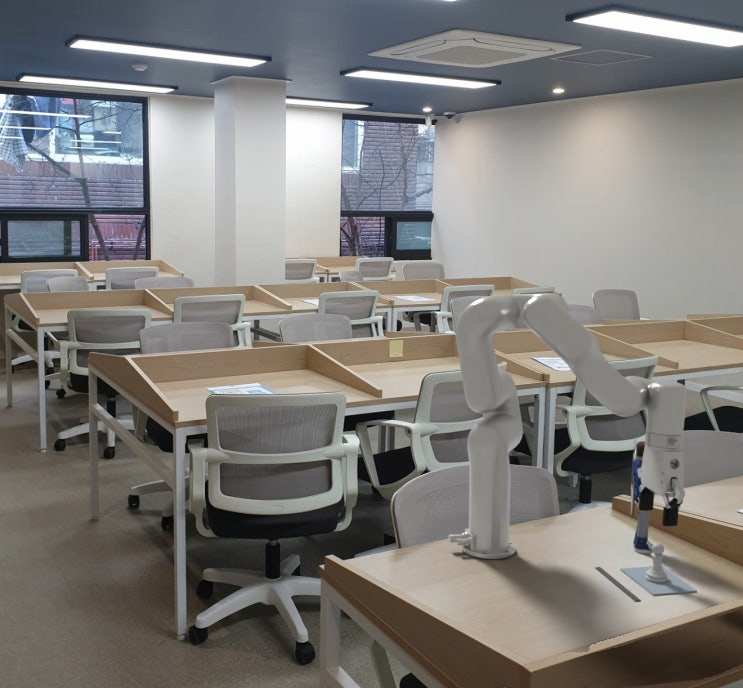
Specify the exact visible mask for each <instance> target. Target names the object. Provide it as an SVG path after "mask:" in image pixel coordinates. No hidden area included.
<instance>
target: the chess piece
mask: <svg viewBox="0 0 743 688" xmlns="http://www.w3.org/2000/svg"><path fill="white" fill-rule="evenodd" d="M652 551H653V552H654V553H650V556H651V557H652V565H651V566H652V567H651V568H650V569H649V570H648V571H646V573H647V574H646V575H645V577H646V579H647V580H649V581H651V582H655V583H664V582H666V581H667V580H668V578H667V573H666V572H664V570H663V568H662V566H663V565H662V564H663V558H665V554H663V553H664V552H665V547H664V545H663V544H662V543H658V542H656V543H653V546H652Z"/></svg>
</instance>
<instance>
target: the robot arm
mask: <svg viewBox="0 0 743 688" xmlns="http://www.w3.org/2000/svg"><path fill="white" fill-rule="evenodd" d="M508 330H510V331H511V330H513V331H514V330H523V331H524V330H529V331H530V332H532V333H533V334H534V335H535V336H536V337H537V338H538V339H540V340H541V341H542V342H543V343H544V344H545V345H546V346H547V347H548V348H549V349H550V350H551V351H552V352H553V353H555V354H556V355H557V357H559V358H560V359H561V360H562V361H564V363H565V364H566V365H567V366H568V367H569V369H570V371H571V372H572V373H573V374H574V376H575V377H576V379H578V381H579V383H580V384H581V385H582V386H583V388H584V389H585V390H586V391H587V392H588V393H590V395H591V396H592V397H593V398H595V399H596V400H597V401H598V402H599V403H600V404H601V405H602V406H603V407H604V408H605V409H606V410H607V411H609V412H611V413H612V414H614V415H616V416H619V417H623V418H628V417H632V416H635V415H636V414H638V413H639V412H640V411H646V413H647V414H646V415H647V416H646V423H645V424H646V425H645V435H644V438H645V439H644V441H645V448H644V453H643V459H642V467H641V468H638V477H639V479H638V482H639V485H640V487H639V491H640V497H639V510H640V511H649V510H650V511H653V510H654V499H655V494H656V495H659V496H660V497H662V498H663V501H664V502H663V503H664V505H665V506H663V510H662V519H661V520H662V521H661V525H662V526H664V527H676V526H677V525H678V519H679V511H680V510H679V509H680V508H681V505H682V504H683V502H684V498H685V496H686V491H685V490H684V484H685V483H684V482H685V461H684V460H685V459H684V452H683V443H684V442H683V440H684V429H685V428H684V427H685V417H686V407H687V405H686V404H687V393H688V392H687V388H686V385H684V384H682V383H680V382H676V381H669V380H666V381H665V380H654V379H649V378H645V377H642V376H638V375H628V376H623V375H622V374H621V373H620V372H619V371H618V370H617V369H616V368H615V367H614V366H613V365H612V364H611V363H610V362H609V360H607V358H606V357H605V356H604V353H602V351H601V348H600V345H599V342H598V339H597V338H596V336H595V335H594V334H593V333H592V332H591V331H590V330H589V329H587V327H585V326H584V325H583V324H582V323H581V322H579V321H578V320H577V319H576V318H575V317H574V316H573V315H572V314H571V313H570V309H569V305H568V303H567V301H566V300H565V299H564V298H563V297H562V296H560V295H558V294H556V293H552V292H551V293H550V292H548V293H547V292H546V293H509V294H508V293H507V294H506V293H505V294H496V295H489V296H484V297H481V298H479V299H477V300H475V301H473V302H471V303H470V304H469V305H467V306H466V307H465V308H464V309H463V310H462V312H461V314H460V315H459V317H458V319H457V322H456V325H455V342H456V347H457V353H458V354H457V355H458V359H459V365H460V366H459V368H460V373H461V380H462V384H463V385H462V386H463V392H464V399H465V402H466V404H467V406H468V408H469V409H470V410H471V411H473V412H474V413H478V414H482V419H481V420H479V421H478V422H477V423H475V424H474V425H473V426H472V428H471V430H469V433H468V436H467V440H466V441H467V454H468V464H469V478H468V479H469V491H468V492H469V495H468V497H469V499H468V500H469V501H468V503H469V505H468V528H464V532H461V533H459V534H456V533H455V534H448V536H447V538H448V539H447V540H448V544H451V543H452V544H453V543H456V545H457V546H461V550H462V551H463V553H465V554H467V555H468V556H471V557H475V558H478V559H485V560H486V559H487V560H499V559H505V558H509V557H511V556H512V555H515V552H516V545H515V544H514V543H513V542H512V541H510V518H511V517H510V514H511V513H510V512H511V511H510V509H511V508H510V507H511V467H510V457H509V453H510V451H512V450H514V449H515V448H516V447H517V446H518V445H519V444H520V443H521V440H522V438H523V434H524V433H523V432H524V431H523V429H524V428H523V421H522V415H521V409H520V403H519V397H518V391H517V386H516V384H515V381H514V379H513V377H512V376H511V375H510V373H509V372H507V371H506V370H504V369H502V368H499V367H498V362H497V354H496V350H495V347H494V344H493V341H492V336H493V335H494V334H495V333H500V332H503V331H508ZM652 491H653V492H652ZM670 498H672V499H671V500H670Z"/></svg>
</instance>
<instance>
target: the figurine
mask: <svg viewBox="0 0 743 688" xmlns="http://www.w3.org/2000/svg"><path fill="white" fill-rule="evenodd" d="M644 448H645V440H643V441H638V442H637V437H635V438H634V442H633V454H632V467H631V468H632V469H631V480H630V481H631V484H630V505H631V506H630V519H631V520H632V519H633V517H634V515H635V514H634V513H635V505H636V510H637V521H636V522H637V525H636V527H635V533H634V534H635V535H634V538H633V544H632V545H633V546H632V548H633V551H634V552H635V553H638V554H651V553H654V552H653V551H652V546H653V544H654V543H653V542H651V541H649V539H648V538H649V537H648V536H649V527H650V519H651V517H650V516H651V510H649V511H640V510H639V497H640V491H639V487H640V485H639V482H638V479H639V477H638V468H641V467H642V459H643V453H644ZM635 454H636V459H635ZM652 492H653V491H652Z"/></svg>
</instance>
